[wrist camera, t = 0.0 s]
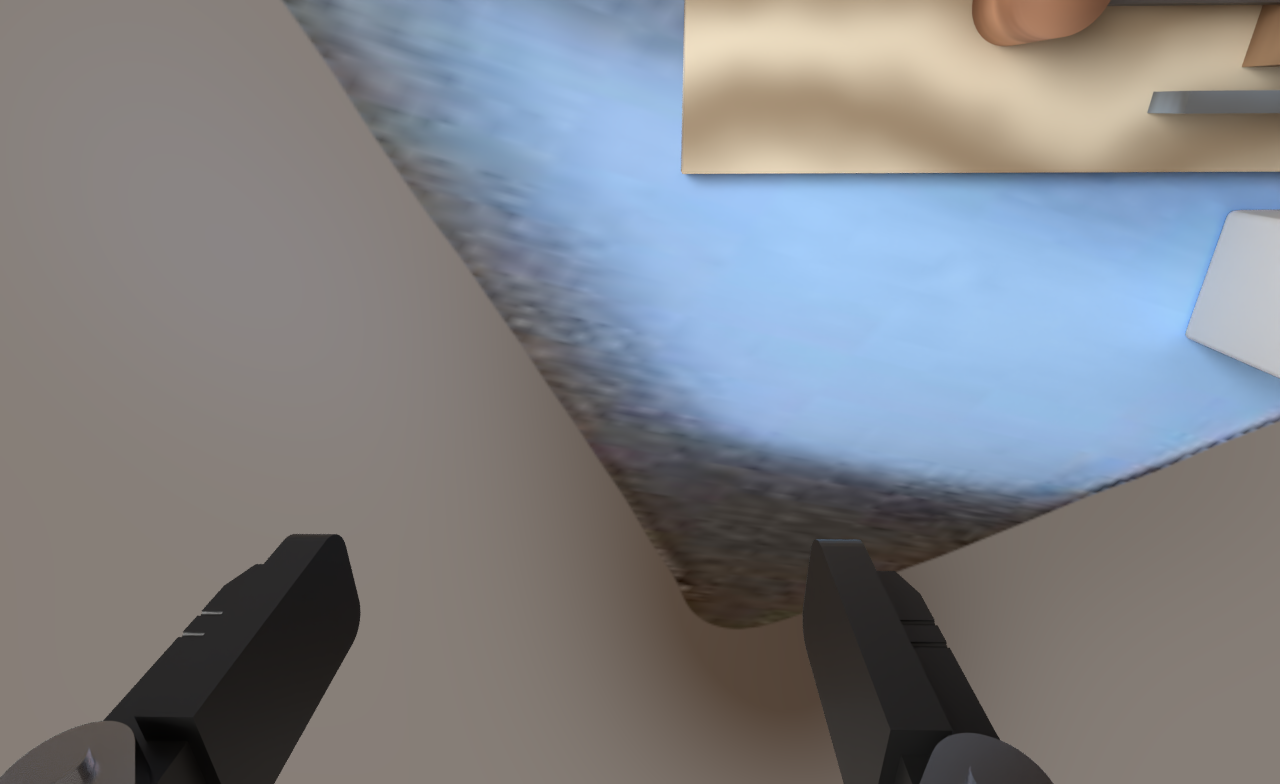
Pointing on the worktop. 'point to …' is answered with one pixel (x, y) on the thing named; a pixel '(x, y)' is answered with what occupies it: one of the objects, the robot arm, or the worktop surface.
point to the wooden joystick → (1068, 3)
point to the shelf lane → (970, 91)
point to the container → (1243, 292)
